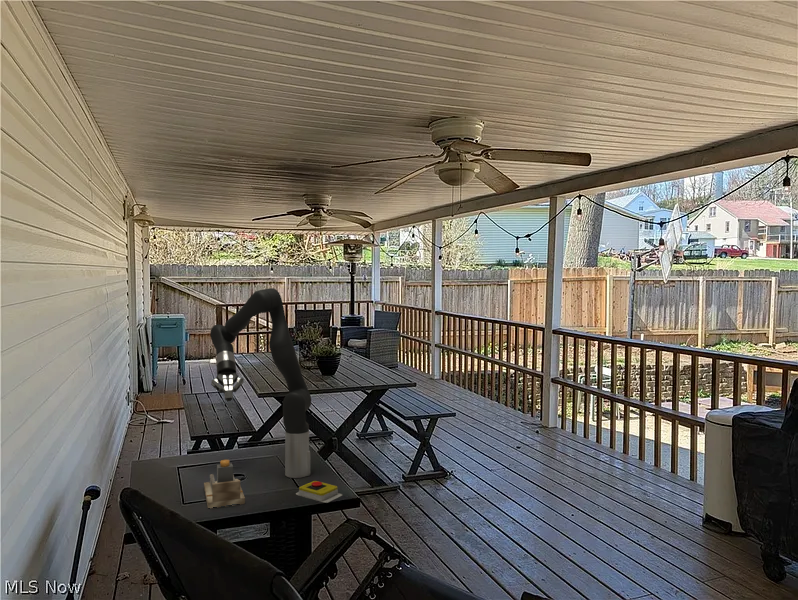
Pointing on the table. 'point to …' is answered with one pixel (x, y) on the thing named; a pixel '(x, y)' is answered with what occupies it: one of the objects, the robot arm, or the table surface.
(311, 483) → the emergency button
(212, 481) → the track
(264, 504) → the table surface
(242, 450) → the table surface
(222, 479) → the orange-capped grey pillar
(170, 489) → the table surface
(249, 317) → the robot arm
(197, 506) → the table surface
